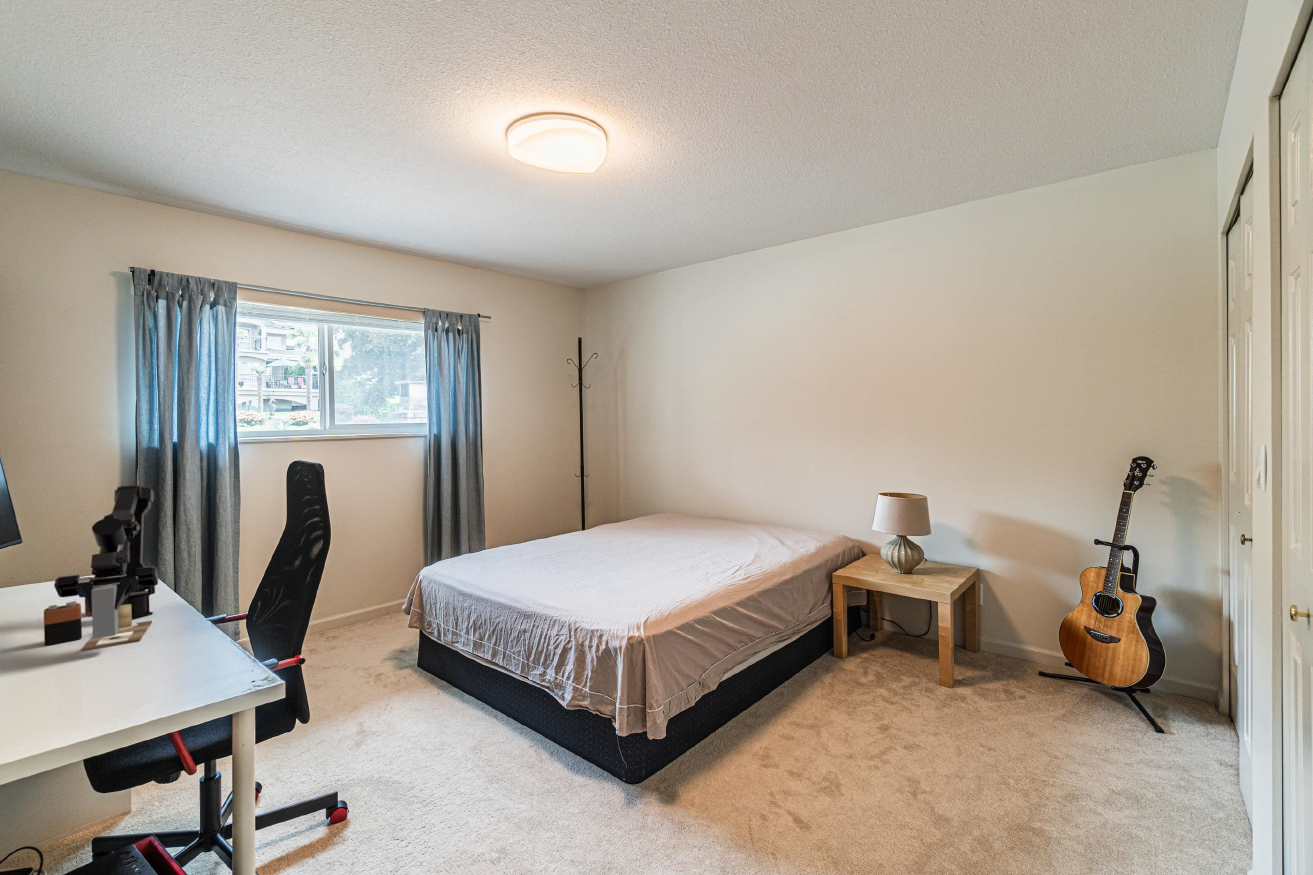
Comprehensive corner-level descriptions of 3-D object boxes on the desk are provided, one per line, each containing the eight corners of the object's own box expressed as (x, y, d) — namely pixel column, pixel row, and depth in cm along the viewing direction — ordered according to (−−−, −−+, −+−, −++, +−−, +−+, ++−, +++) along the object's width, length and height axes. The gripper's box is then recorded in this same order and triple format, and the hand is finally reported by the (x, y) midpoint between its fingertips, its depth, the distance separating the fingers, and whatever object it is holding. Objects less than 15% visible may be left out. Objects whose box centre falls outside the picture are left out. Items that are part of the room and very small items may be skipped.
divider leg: (97, 634, 142) (95, 586, 142) (118, 630, 144) (117, 584, 144) (92, 638, 139) (91, 590, 139) (115, 635, 141) (113, 587, 141)
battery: (82, 639, 151) (80, 602, 151) (44, 646, 146) (43, 608, 146) (81, 635, 154) (80, 599, 154) (44, 642, 149) (43, 605, 149)
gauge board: (99, 630, 158) (99, 607, 158) (152, 622, 164) (151, 599, 164) (81, 650, 143) (80, 624, 142) (139, 641, 149) (138, 616, 149)
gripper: (55, 544, 139) (41, 599, 130) (155, 535, 150) (148, 585, 141) (65, 570, 146) (53, 624, 137) (161, 559, 156) (155, 609, 147)
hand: (103, 609), depth 140 cm, fingers closed on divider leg, 4 cm apart
